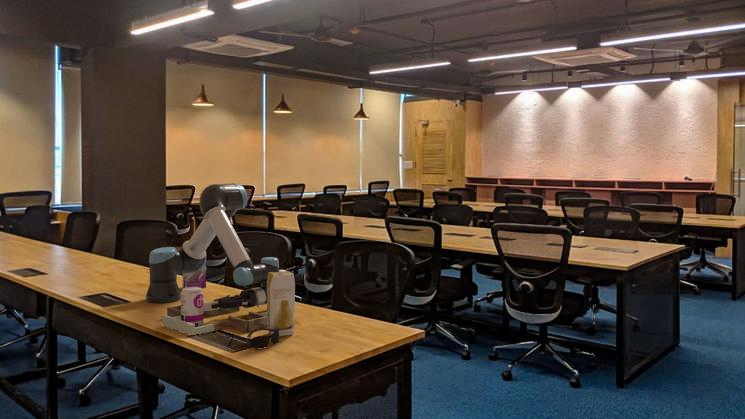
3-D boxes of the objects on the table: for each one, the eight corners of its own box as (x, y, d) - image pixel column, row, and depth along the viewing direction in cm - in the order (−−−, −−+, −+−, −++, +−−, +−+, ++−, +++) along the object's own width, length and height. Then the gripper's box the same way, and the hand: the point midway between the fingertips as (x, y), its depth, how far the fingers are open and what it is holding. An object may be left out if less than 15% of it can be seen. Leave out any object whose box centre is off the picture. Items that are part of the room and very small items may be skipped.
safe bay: (183, 321, 239) (183, 311, 239) (213, 331, 226) (213, 320, 225) (162, 325, 232) (162, 315, 232) (192, 336, 219) (192, 325, 218)
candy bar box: (183, 289, 300) (183, 256, 298) (182, 287, 304) (181, 255, 303) (206, 287, 304) (206, 255, 303) (204, 285, 309) (204, 254, 308)
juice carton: (271, 338, 217) (272, 272, 216) (265, 332, 224) (265, 268, 223) (296, 335, 222) (296, 270, 220) (289, 329, 229) (289, 267, 227)
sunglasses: (257, 352, 202) (257, 337, 201) (224, 344, 210) (224, 330, 210) (284, 342, 213) (284, 329, 213) (252, 335, 222) (252, 322, 221)
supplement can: (208, 326, 232) (207, 287, 231) (192, 331, 225) (192, 291, 224) (192, 323, 236) (192, 285, 235) (176, 328, 229) (176, 289, 227)
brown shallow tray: (223, 306, 265) (223, 297, 265) (285, 322, 239) (285, 312, 238) (167, 317, 245) (167, 307, 245) (227, 337, 218) (227, 326, 218)
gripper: (262, 309, 247) (212, 319, 229) (242, 304, 255) (193, 314, 237) (262, 291, 246) (212, 300, 228) (242, 286, 255) (193, 295, 237)
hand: (202, 307), depth 233 cm, fingers closed
